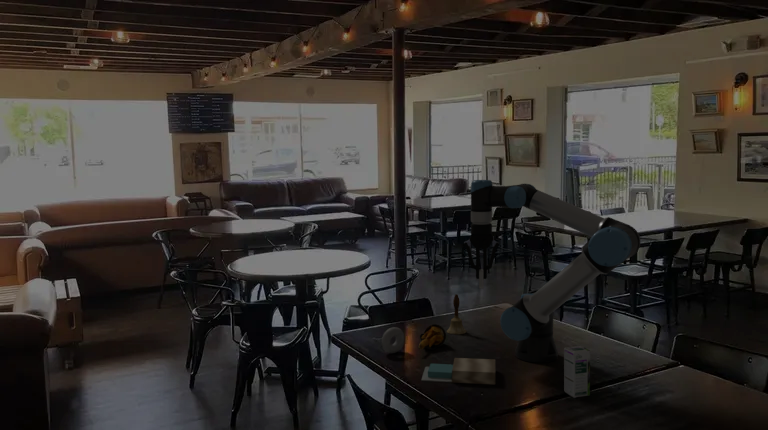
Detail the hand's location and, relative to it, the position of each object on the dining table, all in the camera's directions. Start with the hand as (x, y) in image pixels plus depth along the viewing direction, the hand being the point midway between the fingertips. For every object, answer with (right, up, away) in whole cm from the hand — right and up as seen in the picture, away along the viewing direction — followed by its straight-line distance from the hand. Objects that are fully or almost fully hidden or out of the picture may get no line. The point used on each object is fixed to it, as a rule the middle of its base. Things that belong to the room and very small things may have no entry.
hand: (481, 287), depth 229 cm
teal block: (-16, -28, -14) cm, 35 cm away
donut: (-32, -26, +10) cm, 42 cm away
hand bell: (-5, -23, +37) cm, 44 cm away
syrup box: (+25, -30, -32) cm, 50 cm away
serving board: (-5, -28, -16) cm, 33 cm away
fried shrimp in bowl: (-18, -26, +15) cm, 35 cm away
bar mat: (-17, -28, -13) cm, 35 cm away
